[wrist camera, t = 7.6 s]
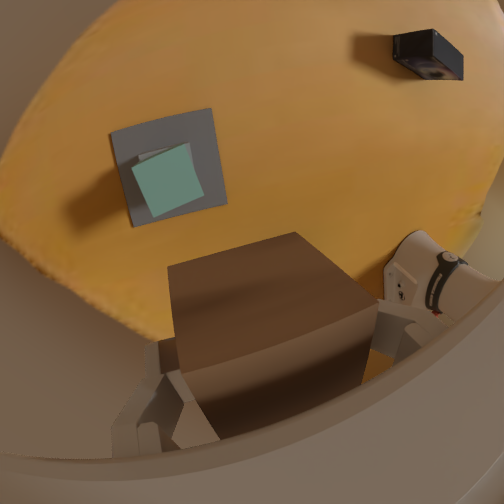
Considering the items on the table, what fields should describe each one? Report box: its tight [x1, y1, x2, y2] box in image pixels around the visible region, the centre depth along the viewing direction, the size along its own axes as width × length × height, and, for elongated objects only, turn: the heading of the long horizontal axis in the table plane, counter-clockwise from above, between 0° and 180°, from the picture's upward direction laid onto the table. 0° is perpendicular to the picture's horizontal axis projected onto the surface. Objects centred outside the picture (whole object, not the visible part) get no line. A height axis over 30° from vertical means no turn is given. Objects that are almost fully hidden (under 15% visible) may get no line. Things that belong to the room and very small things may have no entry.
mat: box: [111, 108, 228, 227], centre depth 35 cm, size 14×14×1 cm
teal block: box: [132, 143, 204, 217], centre depth 27 cm, size 6×6×6 cm
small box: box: [393, 29, 463, 81], centre depth 32 cm, size 11×6×10 cm, turn 82°
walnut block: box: [167, 232, 379, 440], centre depth 9 cm, size 5×5×5 cm
